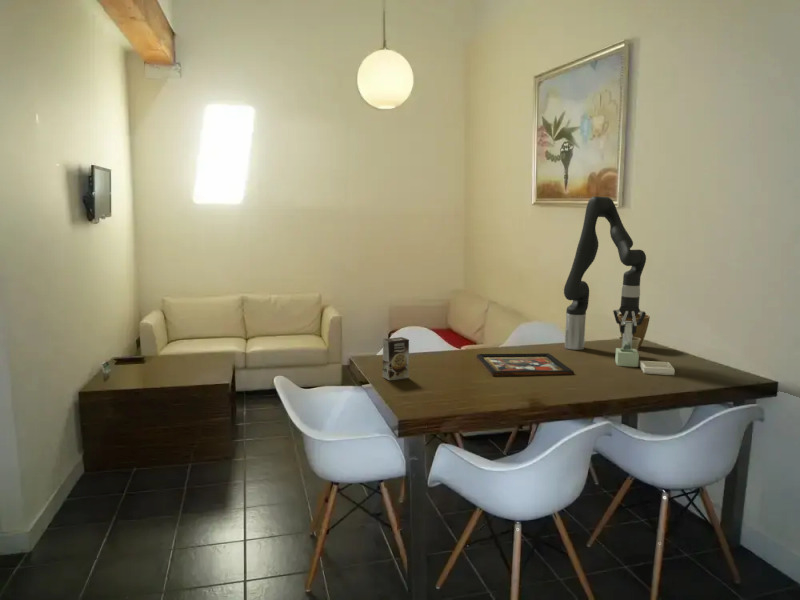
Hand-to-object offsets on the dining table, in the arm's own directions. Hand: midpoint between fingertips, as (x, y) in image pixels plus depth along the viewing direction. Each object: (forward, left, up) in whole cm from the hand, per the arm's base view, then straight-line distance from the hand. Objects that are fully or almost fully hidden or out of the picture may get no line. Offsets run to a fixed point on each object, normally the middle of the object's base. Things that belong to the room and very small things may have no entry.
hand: (627, 333), depth 275 cm
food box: (-95, -45, -14) cm, 106 cm away
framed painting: (-45, -14, -15) cm, 49 cm away
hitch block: (0, 0, -14) cm, 14 cm away
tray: (+11, -9, -14) cm, 20 cm away
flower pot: (+3, +15, -14) cm, 21 cm away
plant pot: (+7, +36, -14) cm, 39 cm away
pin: (0, 0, -7) cm, 7 cm away
